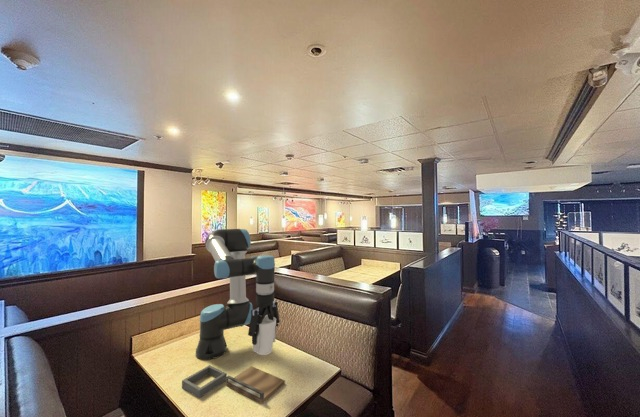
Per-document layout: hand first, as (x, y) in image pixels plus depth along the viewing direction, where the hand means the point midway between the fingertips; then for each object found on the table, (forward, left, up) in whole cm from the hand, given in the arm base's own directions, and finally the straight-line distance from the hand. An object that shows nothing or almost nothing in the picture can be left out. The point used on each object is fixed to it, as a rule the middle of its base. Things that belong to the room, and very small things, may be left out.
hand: (264, 346), depth 109 cm
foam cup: (0, 0, -2) cm, 2 cm away
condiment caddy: (-23, -11, -17) cm, 31 cm away
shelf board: (-4, 0, -17) cm, 18 cm away
